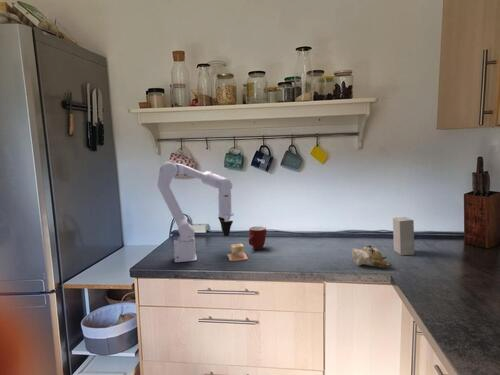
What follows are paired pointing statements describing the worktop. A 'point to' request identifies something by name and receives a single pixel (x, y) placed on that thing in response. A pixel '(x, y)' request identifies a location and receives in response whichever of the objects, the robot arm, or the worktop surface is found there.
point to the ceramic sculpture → (369, 257)
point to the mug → (257, 237)
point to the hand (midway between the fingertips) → (225, 233)
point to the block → (237, 250)
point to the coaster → (237, 258)
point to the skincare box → (403, 235)
